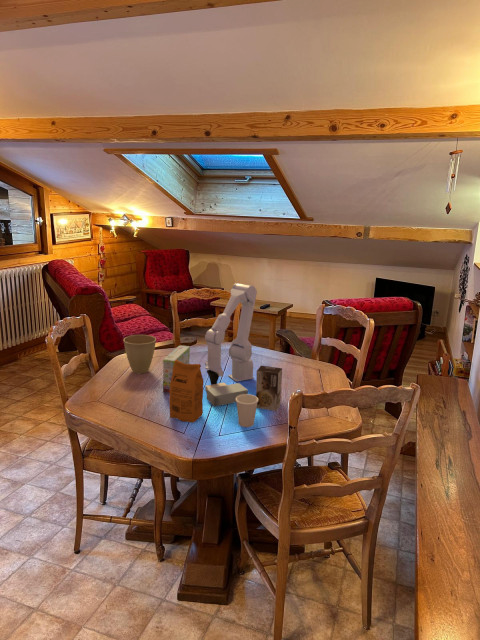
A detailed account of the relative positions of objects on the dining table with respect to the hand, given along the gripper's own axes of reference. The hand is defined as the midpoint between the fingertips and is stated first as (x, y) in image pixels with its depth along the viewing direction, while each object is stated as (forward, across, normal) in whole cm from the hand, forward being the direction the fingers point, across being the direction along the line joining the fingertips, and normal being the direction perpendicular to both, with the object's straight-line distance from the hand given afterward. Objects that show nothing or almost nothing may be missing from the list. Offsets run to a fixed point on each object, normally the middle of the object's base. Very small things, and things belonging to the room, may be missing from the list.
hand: (213, 385), depth 203 cm
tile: (+1, +7, 0) cm, 7 cm away
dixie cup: (+1, +35, -3) cm, 35 cm away
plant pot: (+1, -33, -23) cm, 40 cm away
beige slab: (+1, +13, 0) cm, 13 cm away
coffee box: (+1, +26, +12) cm, 29 cm away
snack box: (+1, -11, -13) cm, 17 cm away
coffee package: (+1, +20, -21) cm, 29 cm away
